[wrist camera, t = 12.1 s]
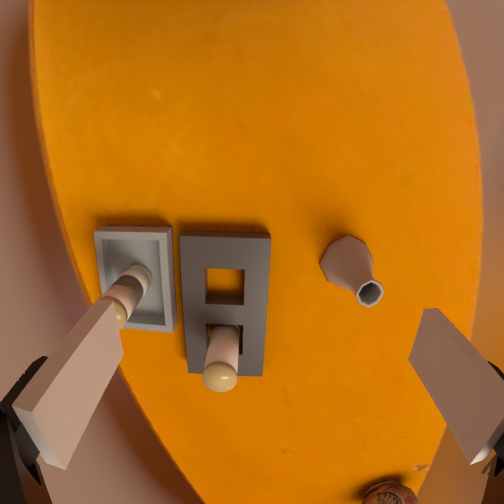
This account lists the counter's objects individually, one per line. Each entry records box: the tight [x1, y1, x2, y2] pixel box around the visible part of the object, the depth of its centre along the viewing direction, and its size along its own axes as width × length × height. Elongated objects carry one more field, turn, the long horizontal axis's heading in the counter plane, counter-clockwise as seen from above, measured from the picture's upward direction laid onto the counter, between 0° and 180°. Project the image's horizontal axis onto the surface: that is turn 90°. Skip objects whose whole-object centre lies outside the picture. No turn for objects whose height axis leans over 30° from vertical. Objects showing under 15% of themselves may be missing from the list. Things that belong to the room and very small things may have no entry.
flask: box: [319, 235, 384, 308], centre depth 37 cm, size 7×7×10 cm
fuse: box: [202, 324, 240, 392], centre depth 40 cm, size 4×4×11 cm
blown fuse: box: [99, 263, 152, 331], centre depth 37 cm, size 4×4×11 cm
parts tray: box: [94, 226, 178, 333], centre depth 41 cm, size 14×10×3 cm
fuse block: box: [180, 231, 271, 376], centre depth 43 cm, size 21×11×2 cm, turn 178°
